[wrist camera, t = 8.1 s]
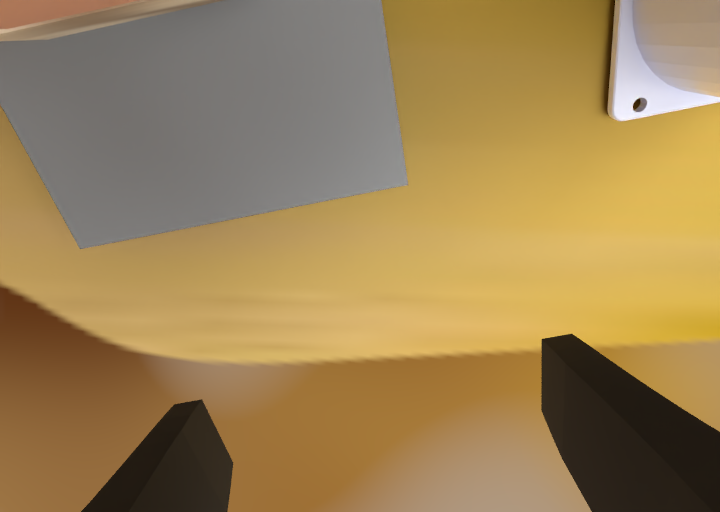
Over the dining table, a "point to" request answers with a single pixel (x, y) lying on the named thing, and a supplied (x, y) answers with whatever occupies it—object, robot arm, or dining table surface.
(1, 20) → the terracotta brick
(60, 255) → the dining table surface
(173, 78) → the baseplate
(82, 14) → the birch block
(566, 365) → the robot arm
